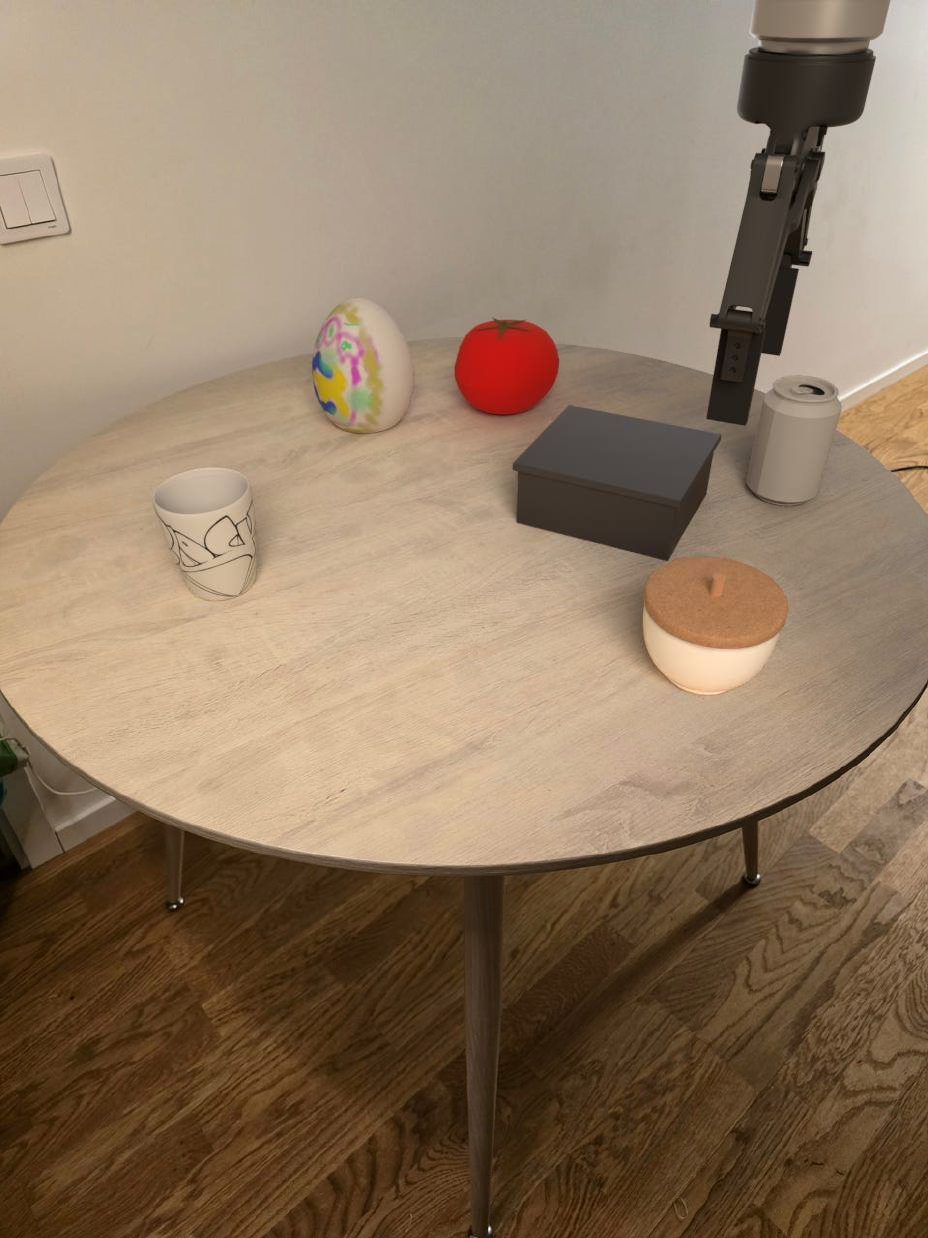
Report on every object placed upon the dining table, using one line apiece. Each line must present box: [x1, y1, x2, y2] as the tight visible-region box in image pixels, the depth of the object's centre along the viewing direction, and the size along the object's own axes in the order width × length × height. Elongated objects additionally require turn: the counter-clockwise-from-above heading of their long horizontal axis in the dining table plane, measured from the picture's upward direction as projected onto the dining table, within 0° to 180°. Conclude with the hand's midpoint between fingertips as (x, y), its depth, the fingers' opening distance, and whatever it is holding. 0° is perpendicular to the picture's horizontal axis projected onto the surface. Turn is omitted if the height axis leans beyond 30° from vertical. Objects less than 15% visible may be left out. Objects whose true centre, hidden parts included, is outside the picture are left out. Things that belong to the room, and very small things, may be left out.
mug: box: [151, 466, 258, 602], centre depth 80 cm, size 11×8×10 cm
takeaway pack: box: [512, 404, 722, 562], centre depth 89 cm, size 17×15×7 cm
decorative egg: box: [311, 296, 415, 435], centre depth 104 cm, size 12×12×15 cm
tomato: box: [454, 317, 560, 415], centre depth 108 cm, size 12×13×11 cm
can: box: [746, 374, 843, 507], centre depth 89 cm, size 8×8×12 cm
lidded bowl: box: [642, 555, 789, 696], centre depth 68 cm, size 11×11×9 cm
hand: (746, 384), depth 65 cm, fingers open, 13 cm apart
